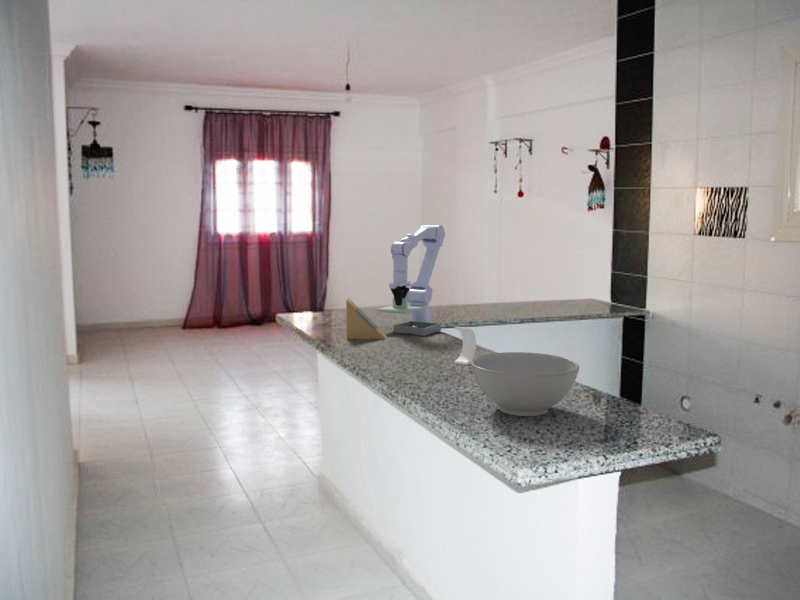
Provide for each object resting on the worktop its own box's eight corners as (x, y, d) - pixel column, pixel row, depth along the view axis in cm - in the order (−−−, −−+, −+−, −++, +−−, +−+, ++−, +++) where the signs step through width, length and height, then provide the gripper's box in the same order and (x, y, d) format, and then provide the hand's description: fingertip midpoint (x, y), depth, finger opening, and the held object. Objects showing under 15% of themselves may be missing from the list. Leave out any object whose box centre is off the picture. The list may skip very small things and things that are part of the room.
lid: (393, 309, 313) (393, 296, 312) (423, 310, 306) (423, 297, 306) (376, 312, 300) (376, 299, 300) (407, 314, 294) (407, 300, 293)
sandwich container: (386, 339, 286) (386, 300, 284) (346, 339, 286) (346, 300, 284) (387, 335, 294) (387, 297, 292) (348, 335, 294) (347, 297, 292)
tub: (410, 328, 311) (410, 320, 310) (440, 330, 304) (440, 323, 303) (393, 333, 299) (393, 325, 298) (424, 336, 292) (424, 328, 291)
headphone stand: (454, 363, 243) (454, 326, 241) (463, 360, 248) (464, 324, 246) (466, 365, 240) (467, 328, 239) (476, 362, 245) (476, 325, 243)
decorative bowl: (448, 405, 192) (449, 359, 191) (524, 391, 208) (525, 348, 206) (522, 432, 171) (523, 380, 169) (600, 413, 186) (602, 365, 184)
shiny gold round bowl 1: (413, 328, 307) (413, 325, 307) (418, 328, 306) (418, 326, 305) (410, 329, 305) (410, 326, 304) (415, 329, 304) (415, 326, 303)
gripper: (400, 273, 293) (399, 307, 295) (417, 271, 306) (416, 304, 308) (384, 272, 297) (384, 306, 298) (402, 270, 309) (401, 302, 311)
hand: (399, 305), depth 303 cm, fingers closed on lid
